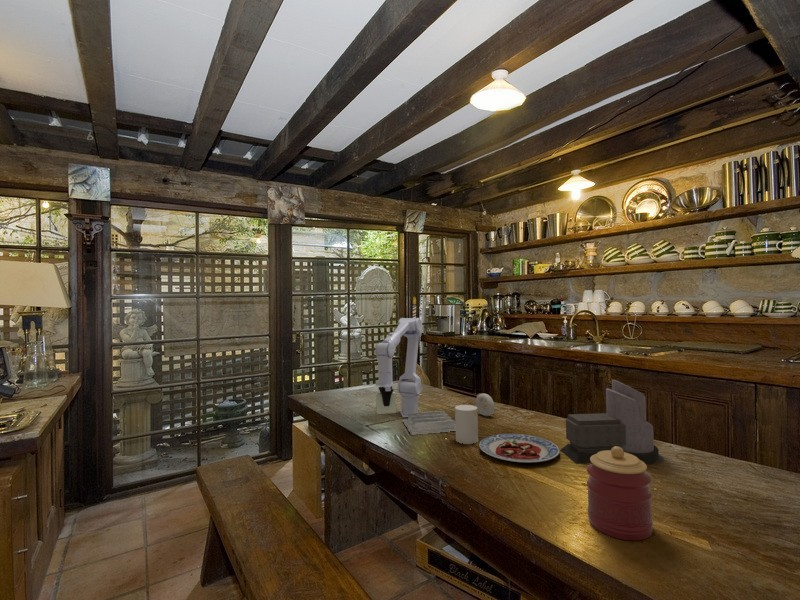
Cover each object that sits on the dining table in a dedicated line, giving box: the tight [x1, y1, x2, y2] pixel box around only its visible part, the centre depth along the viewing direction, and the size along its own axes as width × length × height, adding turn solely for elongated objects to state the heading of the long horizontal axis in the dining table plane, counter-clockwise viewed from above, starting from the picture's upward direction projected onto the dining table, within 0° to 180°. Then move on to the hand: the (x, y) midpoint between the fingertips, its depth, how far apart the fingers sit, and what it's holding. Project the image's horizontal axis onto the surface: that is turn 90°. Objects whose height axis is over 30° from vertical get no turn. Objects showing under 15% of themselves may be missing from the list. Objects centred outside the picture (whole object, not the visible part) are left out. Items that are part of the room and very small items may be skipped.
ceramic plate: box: [478, 433, 560, 463], centre depth 136 cm, size 26×26×3 cm
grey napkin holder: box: [559, 379, 665, 465], centre depth 131 cm, size 30×16×24 cm, turn 92°
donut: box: [475, 393, 495, 417], centre depth 179 cm, size 10×3×10 cm, turn 35°
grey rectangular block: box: [375, 391, 397, 415], centre depth 165 cm, size 2×8×8 cm, turn 99°
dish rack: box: [402, 410, 456, 436], centre depth 166 cm, size 18×20×4 cm
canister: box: [586, 446, 654, 542], centre depth 91 cm, size 13×13×18 cm
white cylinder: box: [454, 404, 479, 445], centre depth 149 cm, size 8×8×12 cm
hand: (386, 405), depth 165 cm, fingers closed on grey rectangular block, 2 cm apart
